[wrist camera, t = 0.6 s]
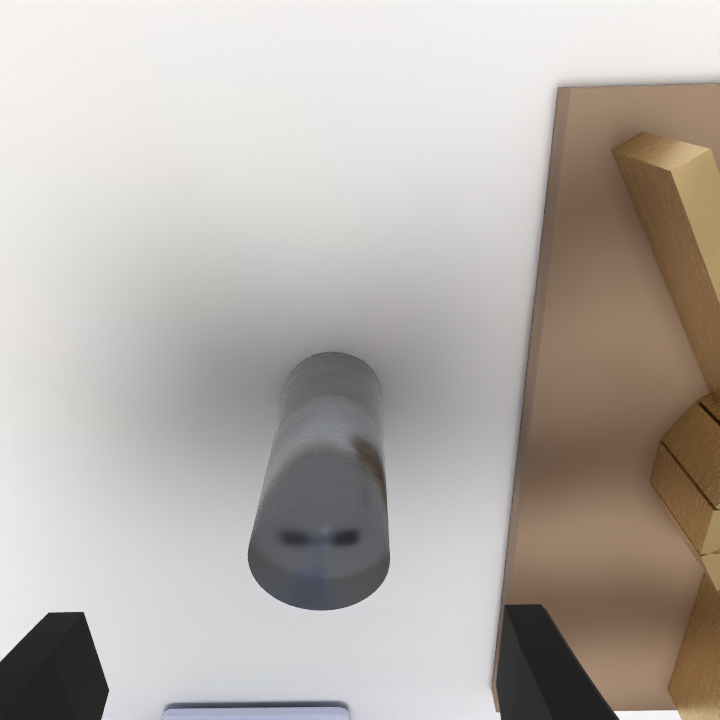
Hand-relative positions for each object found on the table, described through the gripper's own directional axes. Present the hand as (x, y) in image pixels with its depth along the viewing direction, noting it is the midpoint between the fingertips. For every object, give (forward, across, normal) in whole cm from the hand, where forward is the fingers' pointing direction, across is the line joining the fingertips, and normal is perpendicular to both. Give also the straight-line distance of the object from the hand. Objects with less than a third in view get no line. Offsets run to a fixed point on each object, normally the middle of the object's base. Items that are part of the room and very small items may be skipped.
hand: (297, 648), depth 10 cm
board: (+9, -11, +3) cm, 15 cm away
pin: (+9, 0, 0) cm, 9 cm away
